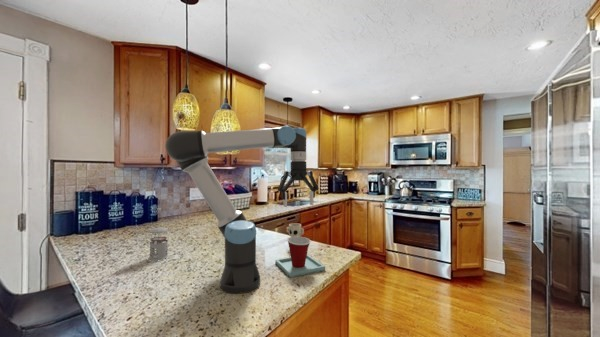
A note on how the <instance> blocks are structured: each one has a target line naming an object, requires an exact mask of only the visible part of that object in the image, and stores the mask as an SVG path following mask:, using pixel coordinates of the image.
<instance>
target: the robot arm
mask: <svg viewBox="0 0 600 337" xmlns="http://www.w3.org/2000/svg"><path fill="white" fill-rule="evenodd" d="M264 148H269V149H290V170H289V171H288V170H286V171H284V172H283V177H282V179H281V181H280V183H279V185H278V187H277V192H280V193H281V200H283V207H285V208H287V207H288V193H287V191H288V189H289V188H290V186H291V185H292V184H293V183H294V182H296V181H297V182H298V181H303V182H304V183H305V185H306V186H307V187H308V188H309V190H310V191H309V205H311V206H314V198H315V197H316V191H317V190H318V191H319V186H318V184H317V181H316V179H315V177H314V176H313V174H314V173H313V171H312V170H308V171H307V129H305V128H304V127H303V128H302V127H293V126H289V125H283V126H281V127H272V128H271V127H270V128H257V129H245V130H233V131H232V130H231V131H216V132H205V131H203V130H194V131H193V130H181V131H180V130H179V131H175V132H173V133H172V134H170V135H169V136H168V137H167V138H166V141H165V150H166V153H167V155H168V156H169V157H170V158H171V159H172V160H173V161H175V162H176V163H177V165H178V167H179V168H180V169H181V171H182V172H184V173H188V175H189V176H190V178H191V180H192V181H193V182H194V185H195V186H196V188H197V189H198V191H199V192H200V194H201V196H202V197H203V199H204V200H205V201H206V203H207V205H208V206H209V208H210V210H211V212H212V214H214V216H215V217H216V219H217V221H218V223H217V227H218V229H219V231H220V232H221V234H222V235H223V238H224V267H223V271H222V274H221V277H220V279H219V289H220V290H221V291H223V292H224V293H228V294H233V295H234V294H236V295H237V294H243V293H247V292H248V293H249V292H251V291H253V290H255V289H257V288H259V286H260V285H261V275H260V272H259V269H258V266H257V260H256V258H257V253H256V252H257V248H256V247H257V245H256V243H257V236H256V235H257V229H256V227H257V226H256V224H255V223H254V222H253V221H249V220H247V218H246V216H245V214H244V213H243V212H242V210H237V209H236V207H235V205H234V204H233V202H232V200H231V199H230V198H229V196H228V194H227V193H226V191H225V189H224V188H223V186H222V184H221V183H220V181H219V179H218V178H217V176H216V174H215V172H214V171H213V170H212V168H211V167H210V165H209V156H208V155H209V154H214V153H215V154H216V153H223V152H234V151H244V150H252V149H253V150H255V149H264ZM289 176H290V178H289V180H288V177H289ZM307 176H308V178H307ZM287 180H288V181H287ZM286 181H287V183H286Z"/></svg>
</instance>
